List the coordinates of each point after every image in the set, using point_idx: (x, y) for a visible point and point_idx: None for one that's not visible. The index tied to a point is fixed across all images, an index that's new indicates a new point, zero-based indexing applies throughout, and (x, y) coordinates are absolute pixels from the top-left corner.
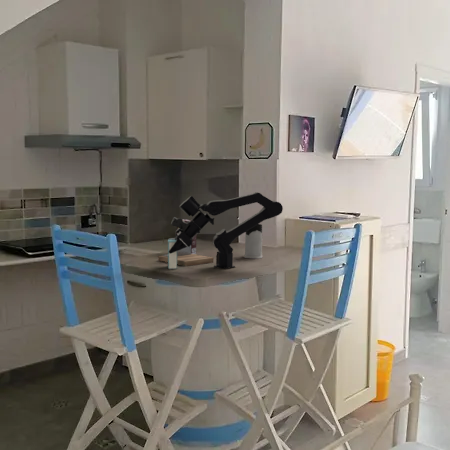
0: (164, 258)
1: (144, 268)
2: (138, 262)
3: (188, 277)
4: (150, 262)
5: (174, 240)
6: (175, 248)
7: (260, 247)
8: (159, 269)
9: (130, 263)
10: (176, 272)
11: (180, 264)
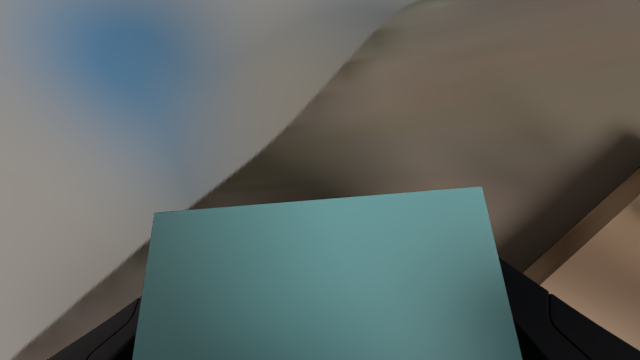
0: (632, 193)
1: (314, 104)
2: (526, 39)
3: (46, 351)
4: (547, 105)
5: (355, 354)
6: None
7: None
8: (282, 184)
9: (475, 9)
10: None
11: None
